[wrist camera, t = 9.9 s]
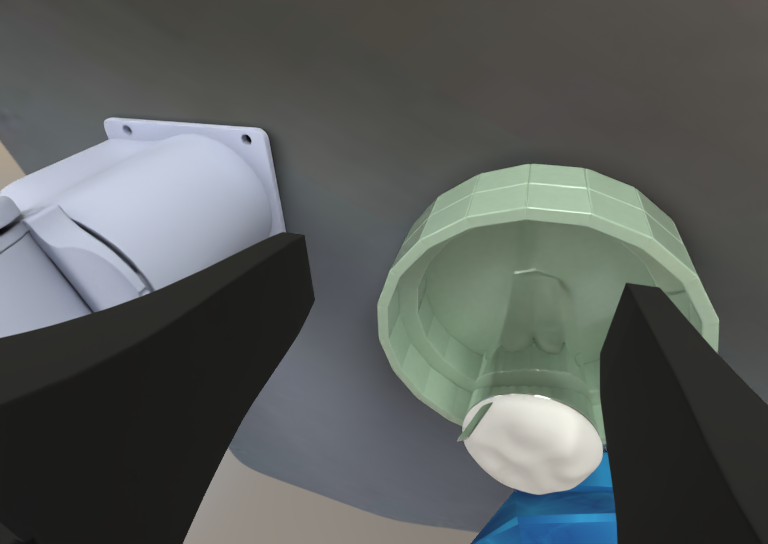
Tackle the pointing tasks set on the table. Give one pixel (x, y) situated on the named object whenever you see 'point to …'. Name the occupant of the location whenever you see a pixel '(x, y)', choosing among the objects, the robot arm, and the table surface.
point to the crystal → (558, 515)
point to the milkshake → (533, 393)
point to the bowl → (525, 272)
